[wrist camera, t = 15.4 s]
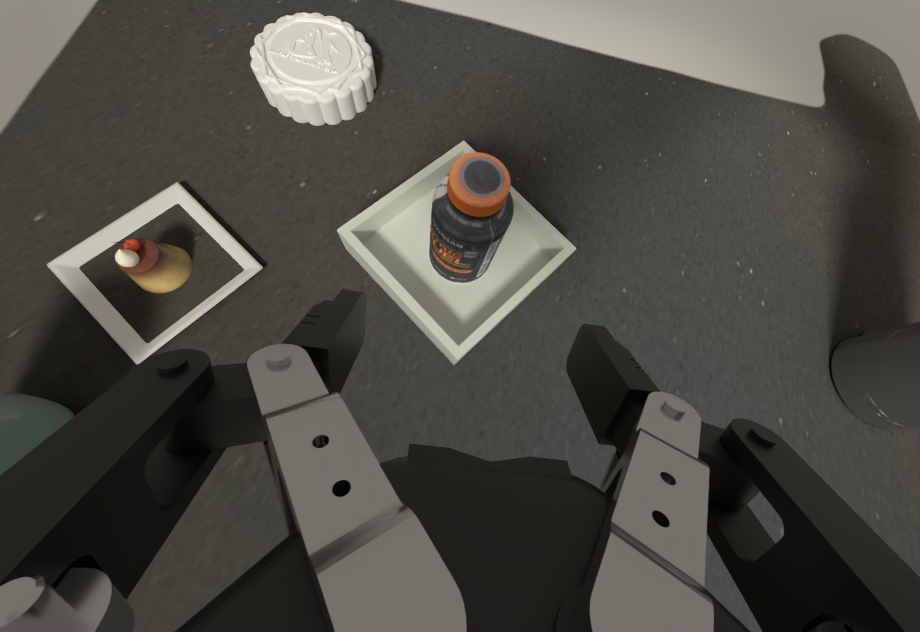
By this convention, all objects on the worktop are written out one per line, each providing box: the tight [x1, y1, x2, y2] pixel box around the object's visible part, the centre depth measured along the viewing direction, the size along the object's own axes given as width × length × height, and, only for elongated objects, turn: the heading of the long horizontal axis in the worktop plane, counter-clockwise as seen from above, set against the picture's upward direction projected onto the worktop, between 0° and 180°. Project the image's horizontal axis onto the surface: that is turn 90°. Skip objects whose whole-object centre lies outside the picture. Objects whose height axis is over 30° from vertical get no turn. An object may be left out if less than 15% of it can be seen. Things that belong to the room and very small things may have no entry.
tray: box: [337, 141, 576, 365], centre depth 30 cm, size 15×15×4 cm
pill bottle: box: [429, 152, 514, 283], centre depth 26 cm, size 6×6×11 cm
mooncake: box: [250, 12, 377, 126], centre depth 34 cm, size 12×12×4 cm
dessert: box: [47, 182, 263, 364], centre depth 27 cm, size 12×12×5 cm
